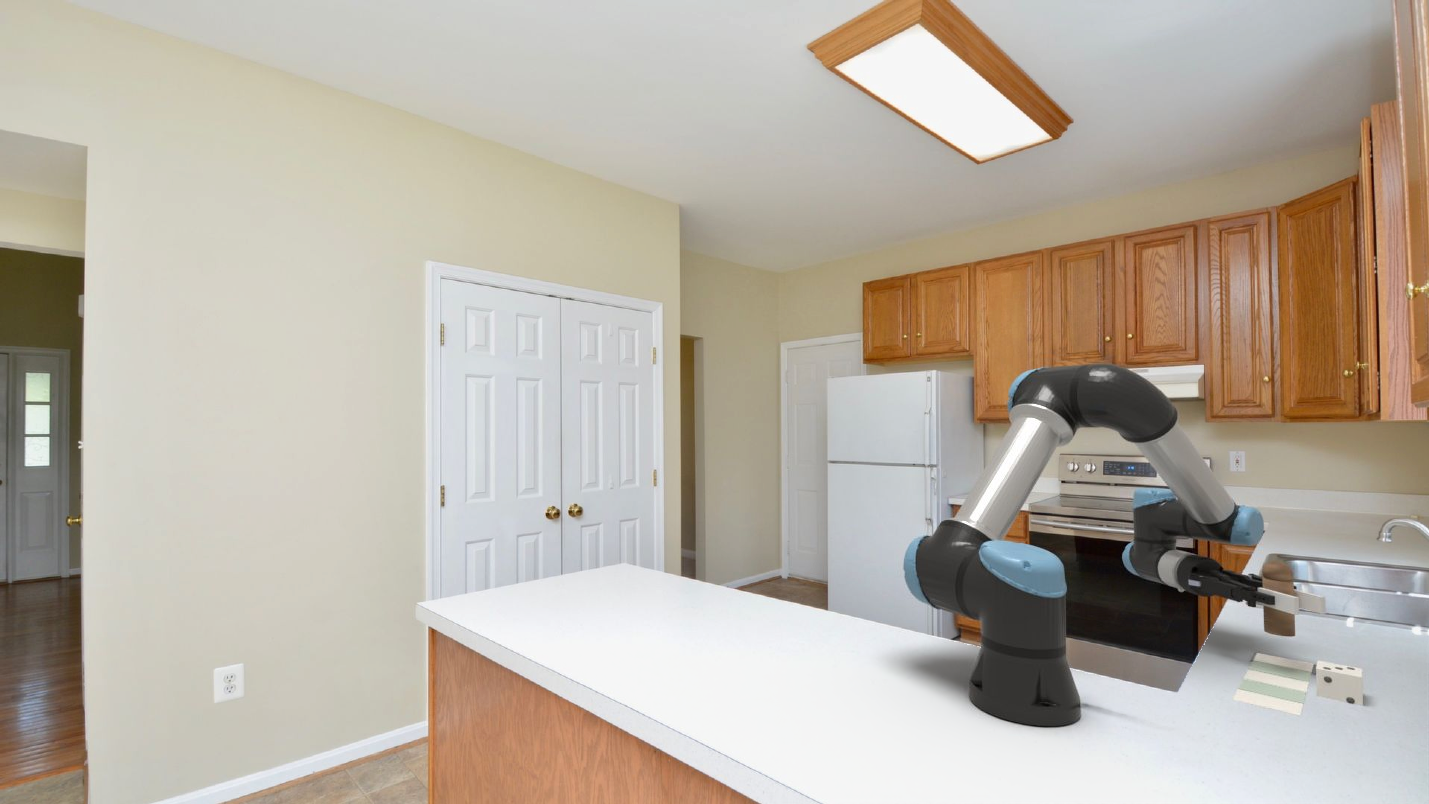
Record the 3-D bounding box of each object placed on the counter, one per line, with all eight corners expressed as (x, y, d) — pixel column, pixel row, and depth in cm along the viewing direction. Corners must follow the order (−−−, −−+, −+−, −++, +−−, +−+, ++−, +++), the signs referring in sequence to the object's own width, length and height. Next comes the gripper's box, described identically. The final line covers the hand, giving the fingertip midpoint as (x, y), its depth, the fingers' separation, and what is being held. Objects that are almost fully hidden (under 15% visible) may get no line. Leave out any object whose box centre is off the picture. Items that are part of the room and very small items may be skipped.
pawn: (1262, 632, 110) (1260, 561, 111) (1265, 627, 113) (1263, 557, 114) (1294, 638, 108) (1291, 564, 108) (1296, 632, 110) (1293, 561, 111)
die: (1316, 701, 100) (1315, 668, 100) (1318, 692, 103) (1317, 659, 103) (1363, 712, 96) (1362, 676, 96) (1363, 701, 100) (1361, 668, 100)
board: (1228, 704, 98) (1228, 699, 98) (1254, 656, 119) (1254, 651, 119) (1304, 722, 92) (1303, 717, 92) (1317, 668, 113) (1316, 663, 113)
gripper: (1233, 591, 129) (1359, 628, 106) (1152, 593, 128) (1261, 630, 104) (1231, 553, 129) (1357, 581, 106) (1151, 554, 128) (1260, 583, 105)
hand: (1309, 605), depth 105 cm, fingers closed on pawn, 4 cm apart
